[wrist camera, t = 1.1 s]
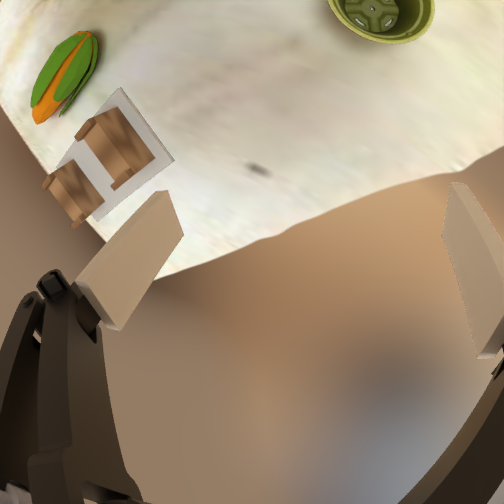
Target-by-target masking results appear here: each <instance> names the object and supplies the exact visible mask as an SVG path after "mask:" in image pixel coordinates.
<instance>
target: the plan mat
mask: <svg viewBox="0 0 504 504" xmlns="http://www.w3.org/2000/svg"><path fill="white" fill-rule="evenodd" d="M117 106H118V108H119V109H120V110H121V112H122V113H123V114H124V116H125V117H126V119H127V120H128V121H129V123H130V124H131V125H132V127H133V128H134V129H135V131H136V132H137V134H138V135H139V136H140V138H141V139H142V140H143V142H144V143H145V144H146V146H147V147H148V148H149V150H150V151H151V153H152V154H153V155H154V157H155V159H154V160H153V161H151V162H150V163H149V164H148V165H146V166H145V167H144V168H143V169H142V170H140V171H139V172H138V173H137V174H135V175H134V176H133V177H131V178H130V179H129V180H128V181H126V182H125V183H124V184H123V185H121V186H120V187H119V188H118V189H117V190H115V191H114V190H113V189H112V188H111V187H110V185H111V184H112V183H114V182H115V181H114V180H113V179H112V177H111V176H110V175H109V173H108V172H107V171H106V169H105V168H104V167H103V165H102V164H101V163H100V161H99V160H98V158H97V157H96V156H95V154H94V153H93V152H92V150H91V149H90V147H89V146H88V145H87V143H86V142H85V140H84V139H83V140H81V141H79V142H77V140H75V141H74V143H73V144H72V145H71V147H70V148H69V149H68V151H67V152H66V154H65V155H64V157H63V158H62V159H61V161H60V162H59V164H58V165H57V167H56V168H57V169H59V168H60V167H62V166H63V165H65V164H66V163H68V162H69V161H71V160H72V159H74V160H75V161H76V163H77V164H78V165H79V167H80V168H81V170H82V171H83V172H84V174H85V175H86V176H87V178H88V179H89V180H90V182H91V183H92V184H93V186H94V187H95V188H96V190H97V191H98V192H99V194H100V195H101V196H102V197H103V199H104V200H105V202H104V203H103V204H101V205H100V206H99V207H98V208H97V209H96V210H95V211H94V212H93V213H92V214H91V215H92V216H93V217H94V219H95V220H96V221H97V222H98V221H99V220H100V219H101V218H103V217H104V216H105V215H106V214H107V213H108V212H110V211H111V210H112V209H113V208H114V207H116V206H117V205H118V204H119V203H120V202H122V201H123V200H124V199H125V198H127V197H128V196H129V195H130V194H132V193H133V192H134V191H135V190H137V189H138V188H139V187H140V186H142V185H143V184H144V183H146V182H147V181H148V180H149V179H151V178H152V177H153V176H155V175H156V174H157V173H159V172H160V171H161V170H163V169H164V168H165V167H167V166H168V165H170V164H171V163H172V162H174V161H175V160H174V159H173V158H172V156H171V155H170V154H169V152H168V151H167V150H166V148H165V147H164V146H163V144H162V143H161V142H160V140H159V139H158V137H157V136H156V135H155V133H154V132H153V131H152V129H151V128H150V127H149V125H148V124H147V122H146V121H145V120H144V118H143V117H142V116H141V114H140V113H139V112H138V110H137V109H136V107H135V106H134V105H133V103H132V102H131V101H130V99H129V98H128V96H127V95H126V94H125V92H124V91H123V90H122V88H118V89H117V90H116V91H115V92H114V94H113V95H112V96H111V97H110V98H109V99H108V100H107V101H106V103H105V104H104V105H103V106H102V107H101V108H100V110H99V111H98V112H97V113H96V114H95V116H97V115H99V114H101V113H103V112H106V111H108V110H110V109H113V108H115V107H117Z"/></svg>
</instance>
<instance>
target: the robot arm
mask: <svg viewBox="0 0 504 504" xmlns="http://www.w3.org/2000/svg"><path fill="white" fill-rule="evenodd" d="M183 236H184V234H183V231H182V228H181V226H180V223H179V220H178V218H177V215H176V212H175V209H174V207H173V204H172V201H171V198H170V195H169V192H168V190H165V191H156V192H155V193H154V194H153V195H152V196H151V197H150V198H149V199H148V200H147V201H146V202H145V203H144V204H143V205H142V206H141V207H140V208H139V209H138V210H137V211H136V212H135V213H134V214H133V215H132V216H131V217H130V218H129V219H128V220H127V221H126V222H125V223H124V224H123V226H122V227H121V228H120V229H119V230H118V231H117V232H116V233H115V234H114V235H113V236H112V238H111V239H110V240H109V241H108V242H107V243H106V244H105V245H104V247H103V248H102V249H101V250H100V251H99V252H98V253H97V255H96V256H95V257H94V258H93V259H92V260H91V261H90V263H89V264H88V265H87V266H86V267H85V269H84V270H83V271H82V272H81V273H80V275H79V276H78V277H77V278H76V280H75V281H74V282H73V283H72V285H71V286H70V285H69V284H68V282H67V281H66V279H65V277H64V276H63V274H62V273H61V271H60V270H58V269H54V270H51V271H49V272H48V273H46V274H45V275H44V276H43V277H42V278H41V279H40V280H39V281H38V283H37V285H36V286H37V288H38V290H39V291H40V292H41V294H42V295H43V297H44V298H45V299H42V298H41V296H40V295H39V293H38V292H36V291H33V292H31V293H28V294H27V295H25V296H24V298H23V299H22V300H21V302H20V304H19V306H18V308H17V310H16V312H15V315H14V317H13V319H12V322H11V324H10V326H9V329H8V332H7V334H6V336H5V339H4V342H3V344H2V347H1V350H0V504H84V500H83V498H85V499H88V500H91V501H94V502H96V503H98V504H151V503H147V502H143V499H142V496H141V493H140V491H139V488H138V486H137V484H136V483H135V481H134V480H133V479H132V478H131V477H130V476H129V474H128V473H127V471H126V469H125V466H124V462H123V458H122V455H121V451H120V447H119V442H118V438H117V433H116V429H115V424H114V419H113V414H112V408H111V404H110V397H109V392H108V384H107V378H106V370H105V362H104V354H103V344H102V333H101V328H100V327H99V325H98V323H99V321H100V320H102V321H103V322H104V324H105V325H106V326H107V328H109V329H113V330H117V331H121V330H122V328H123V327H124V325H125V323H126V322H127V320H128V319H129V317H130V315H131V314H132V312H133V311H134V309H135V307H136V306H137V304H138V303H139V301H140V300H141V298H142V297H143V295H144V293H145V292H146V290H147V289H148V287H149V286H150V284H151V282H152V281H153V280H154V278H155V277H156V275H157V274H158V272H159V271H160V269H161V268H162V266H163V265H164V263H165V262H166V260H167V259H168V257H169V256H170V254H171V253H172V251H173V250H174V249H175V247H176V246H177V244H178V243H179V241H180V240H181V238H182V237H183ZM442 238H443V241H444V244H445V246H446V249H447V251H448V255H449V257H450V260H451V263H452V266H453V269H454V272H455V275H456V278H457V282H458V285H459V288H460V291H461V295H462V298H463V301H464V306H465V309H466V313H467V317H468V321H469V325H470V330H471V334H472V339H473V343H474V348H475V354H476V358H477V359H484V358H493V357H495V356H496V355H497V353H498V352H499V350H500V349H501V347H502V348H503V352H504V244H503V242H502V240H501V238H500V237H499V235H498V233H497V231H496V230H495V228H494V226H493V225H492V223H491V221H490V220H489V218H488V216H487V215H486V213H485V212H484V210H483V209H482V207H481V206H480V204H479V202H478V201H477V200H476V198H475V197H474V195H473V194H472V192H471V191H470V189H469V188H468V187H467V185H466V184H465V183H452V182H451V183H450V189H449V195H448V202H447V208H446V215H445V220H444V226H443V231H442ZM34 330H35V331H36V332H37V333H38V335H39V336H40V337H41V343H39V342H38V341H37V340H36V339H35V337H34V336H33V333H34ZM491 374H492V375H493V377H492V379H491V381H490V383H489V385H488V386H487V388H486V390H485V392H484V393H483V395H482V397H481V398H480V400H479V402H478V403H477V405H476V407H475V408H474V410H473V412H472V413H471V415H470V416H469V418H468V419H467V421H466V422H465V424H464V425H463V427H462V428H461V430H460V431H459V432H458V434H457V435H456V437H455V438H454V439H453V441H452V442H451V443H450V445H449V446H448V448H447V449H446V450H445V451H444V453H443V454H442V455H441V456H440V458H439V459H438V460H437V461H436V463H435V464H434V465H433V466H432V467H431V469H430V470H429V471H428V472H427V473H426V474H425V475H424V477H423V478H422V479H421V480H420V481H419V482H418V483H417V484H416V486H415V487H414V488H413V489H412V490H411V491H410V492H409V493H408V494H407V495H406V496H405V497H404V498H403V499H402V500H401V501H400V502H399V503H398V504H487V503H488V501H489V500H490V499H491V497H492V496H493V494H494V493H495V491H496V490H497V488H498V487H499V485H500V484H501V482H502V480H503V479H504V358H503V359H502V360H501V362H500V363H499V364H498V366H497V367H496V368H495V370H494V371H493V372H492V373H491Z"/></svg>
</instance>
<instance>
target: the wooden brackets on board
mask: <svg viewBox="0 0 504 504" xmlns="http://www.w3.org/2000/svg"><path fill="white" fill-rule="evenodd" d="M75 139H76V140H77V142H79V141H81V140H83V139H84V140H85V142H86V143H87V145H88V146H89V147H90V149H91V150H92V152H93V153H94V154H95V156H96V157H97V158H98V160H99V161H100V163H101V164H102V165H103V167H104V168H105V169H106V171H107V172H108V173H109V175H110V176H111V177H112V179H113V180H114V181H115V182H114V183H112V184H111V185H110V187H111V188H112V189H113V190H114V191H115V190H117V189H118V188H119V187H120V186H121V185H123V184H124V183H125V182H126V181H128V180H129V179H130V178H131V177H133V176H134V175H135V174H137V173H138V172H139V171H140V170H142V169H143V168H144V167H145V166H146V165H148V164H149V163H150V162H151V161H153V160H154V159H155V157H154V155H153V154H152V153H151V151H150V150H149V148H148V147H147V146H146V144H145V143H144V142H143V140H142V139H141V138H140V136H139V135H138V134H137V132H136V131H135V129H134V128H133V127H132V125H131V124H130V123H129V121H128V120H127V119H126V117H125V116H124V114H123V113H122V112H121V110H120V109H119V108H118V106H117V107H115V108H113V109H110V110H108V111H106V112H103V113H101V114H99V115H97V116H94V117H92V118H90V119H88V120H87V121H86V122H85V123H84V125H83V126H82V127H81V129H80V130H79V131H78V133H77V134H76V135H75ZM41 188H42V189H43V191H45V190H46V189H48V188H49V189H50V191H51V192H52V193H53V195H54V196H55V197H56V199H57V200H58V201H59V203H60V204H61V205H62V207H63V208H64V209H65V210H66V212H67V213H68V215H69V216H70V217H71V218H72V220H73V221H74V222H73V223H72V225H71V227H72V229H73V230H74V229H75V228H76V227H77V226H79V225H80V224H81V223H82V222H83V221H84V220H85V219H86V218H87V217H88V216H89V215H91V214H92V213H93V212H94V211H95V210H96V209H97V208H98V207H99V206H100V205H101V204H103V203H104V202H105V200H104V199H103V197H102V196H101V195H100V194H99V192H98V191H97V190H96V188H95V187H94V186H93V184H92V183H91V182H90V180H89V179H88V178H87V176H86V175H85V174H84V172H83V171H82V170H81V168H80V167H79V165H78V164H77V163H76V161H75V160H74V159H72V160H71V161H69V162H68V163H66V164H65V165H63V166H62V167H60V168H59V169H57V170H56V171H54V172H53V173H51V174H50V175H48V177H47V178H46V180H45V182H44V183H43V185H42V186H41Z"/></svg>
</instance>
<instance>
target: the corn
mask: <svg viewBox="0 0 504 504" xmlns="http://www.w3.org/2000/svg"><path fill="white" fill-rule="evenodd" d="M97 50H98V44H97V39H96V37H94V36H93V35H92V33H91V32H89V31H79V32H77V33H75V34H74V35H73V36H71V37H69V38H68V39H66V40H65V41H64V42H62V43H61V44H59V45H58V46H57V47H56V48H55V50H54V51H53V53H52V54H51V56H50V57H49V59H48V60H47V62H46V64H45V65H44V67H43V69H42V70H41V72H40V74H39V76H38V78H37V80H36V83H35V85H34V88H33V92H32V97H31V108H33V111H32V117H33V119H34V121H35V123H36V124H37V125H38V124H40V123H43V122H45V121H46V120H47V119H48V118H49V117H50V116H51V115H52V114H53V112H54V111H55V110H56V109H57V107H58V106H59V105H60V104H61V103H62V102H63V100H64V99H65V98H66V97H67V96H69V95H70V94H71V92H72V91H73V90H74V89H75V88H76V86H77V85H78V83H79V82H80V80H81V79H82V77H83V76H84V74H85V72H86V71H87V68H88V66H89V64H90V62H91V59H92V63H91V67H90V69H89V70H88V72H87V74H86V75H85V77H84V79H83V80H82V82H81V83H80V85H79V86H78V88H77V89H76V90H75V92H74V93H73V95H72V97H71V98H70V100H69V101H68V103H67V104H66V105H65V107H64V108H63V110H62V111H61V113H60V115H59V117H60V116H61V114H62V113H63V112H64V111H65V109H66V108H67V107H68V106H69V104H70V103H71V101H72V100H73V98H74V97H75V96H76V94H77V93H78V91H79V90H80V89H81V87H82V86H83V85H84V83H85V82H86V81H87V79H88V78H89V77H90V75H91V74H92V72H93V70H94V67H95V63H96V60H97ZM92 57H93V58H92ZM59 117H58V118H59Z"/></svg>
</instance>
